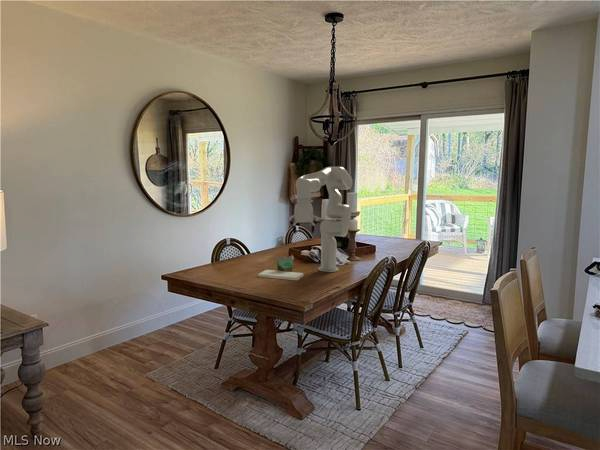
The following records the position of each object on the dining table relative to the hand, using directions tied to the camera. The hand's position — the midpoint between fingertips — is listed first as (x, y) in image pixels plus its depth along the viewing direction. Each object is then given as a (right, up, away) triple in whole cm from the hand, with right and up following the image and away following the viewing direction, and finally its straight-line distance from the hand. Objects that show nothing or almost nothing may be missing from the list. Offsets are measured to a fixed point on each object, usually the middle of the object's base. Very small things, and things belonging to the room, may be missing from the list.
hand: (303, 232), depth 223 cm
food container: (-10, -25, +25) cm, 37 cm away
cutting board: (-13, -26, +16) cm, 33 cm away
